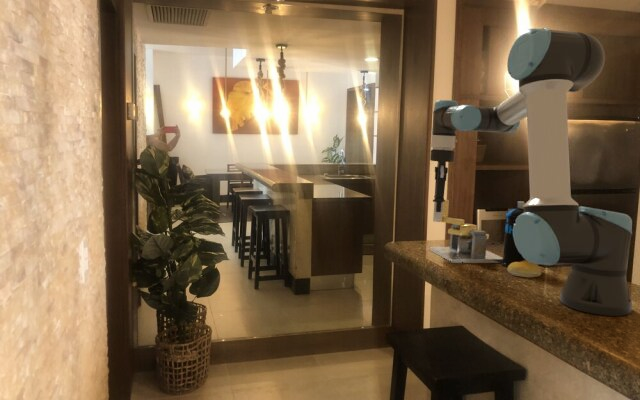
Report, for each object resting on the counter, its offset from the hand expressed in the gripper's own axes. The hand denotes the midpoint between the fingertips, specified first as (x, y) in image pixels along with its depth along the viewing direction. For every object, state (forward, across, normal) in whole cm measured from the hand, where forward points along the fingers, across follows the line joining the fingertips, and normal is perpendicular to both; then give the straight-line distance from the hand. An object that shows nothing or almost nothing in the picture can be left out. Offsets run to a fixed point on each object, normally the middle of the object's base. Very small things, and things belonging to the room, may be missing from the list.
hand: (437, 221), depth 174 cm
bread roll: (+12, -17, -25) cm, 32 cm away
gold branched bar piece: (+4, +2, -8) cm, 9 cm away
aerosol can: (+11, -8, -24) cm, 28 cm away
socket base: (+11, +1, -10) cm, 15 cm away
